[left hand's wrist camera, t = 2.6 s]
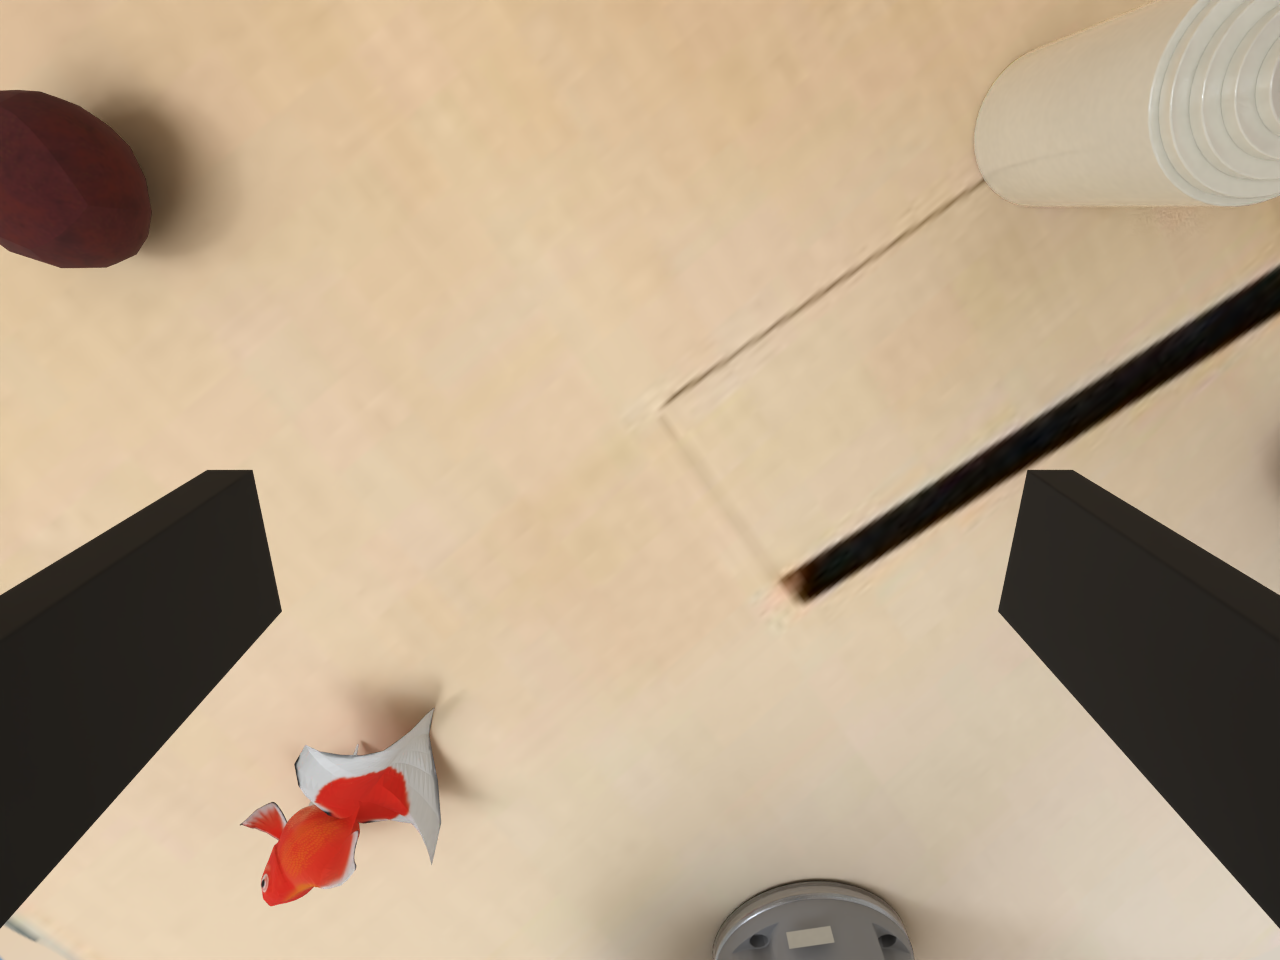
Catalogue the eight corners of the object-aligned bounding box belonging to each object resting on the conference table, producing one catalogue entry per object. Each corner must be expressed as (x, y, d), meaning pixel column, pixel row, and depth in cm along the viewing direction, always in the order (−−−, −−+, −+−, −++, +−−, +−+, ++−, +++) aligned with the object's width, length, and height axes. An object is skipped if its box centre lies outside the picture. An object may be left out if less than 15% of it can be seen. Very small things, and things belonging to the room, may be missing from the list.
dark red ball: (98, 69, 34) (-31, 36, 28) (216, 213, 36) (123, 214, 30) (-2, 162, 36) (-147, 152, 29) (118, 295, 38) (8, 313, 31)
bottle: (946, 175, 36) (1230, 146, 19) (1022, 16, 34) (1431, -188, 16) (1071, 228, 37) (1453, 247, 20) (1154, 77, 34) (1675, -54, 17)
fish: (167, 795, 44) (171, 934, 37) (379, 631, 48) (423, 726, 40) (285, 859, 51) (308, 989, 43) (463, 711, 54) (515, 806, 47)
